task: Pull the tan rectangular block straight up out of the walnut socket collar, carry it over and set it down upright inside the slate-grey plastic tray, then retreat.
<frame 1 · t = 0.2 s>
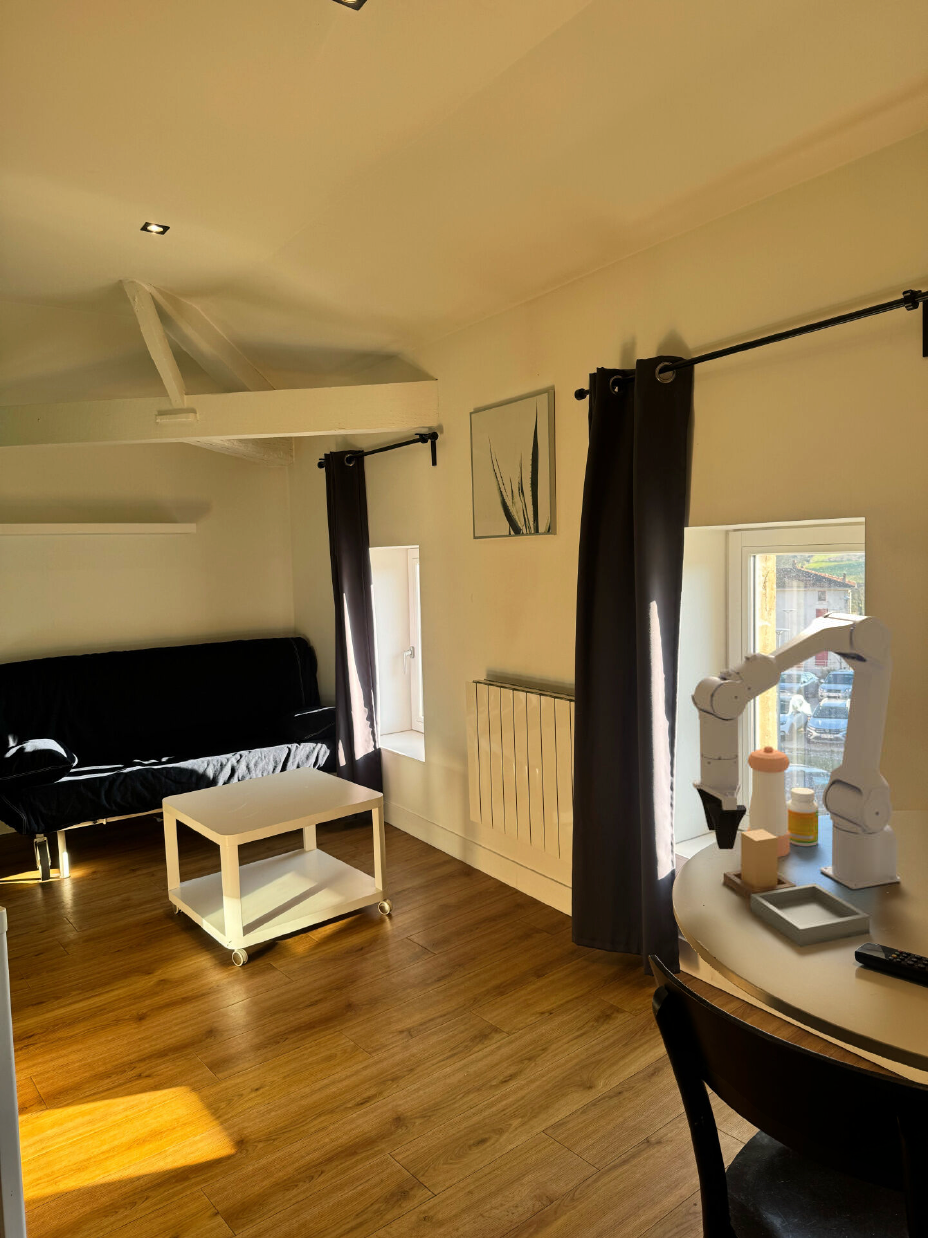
hand: (720, 838, 129), 10 cm above the table, tool pointing down, fingers open, 7 cm apart
salt shaker: (768, 850, 149), on the table
tan rectangular block: (759, 888, 134), resting in socket collar
supplement bottle: (802, 842, 152), on the table
socket collar: (759, 887, 134), on the table
tray: (808, 921, 122), on the table
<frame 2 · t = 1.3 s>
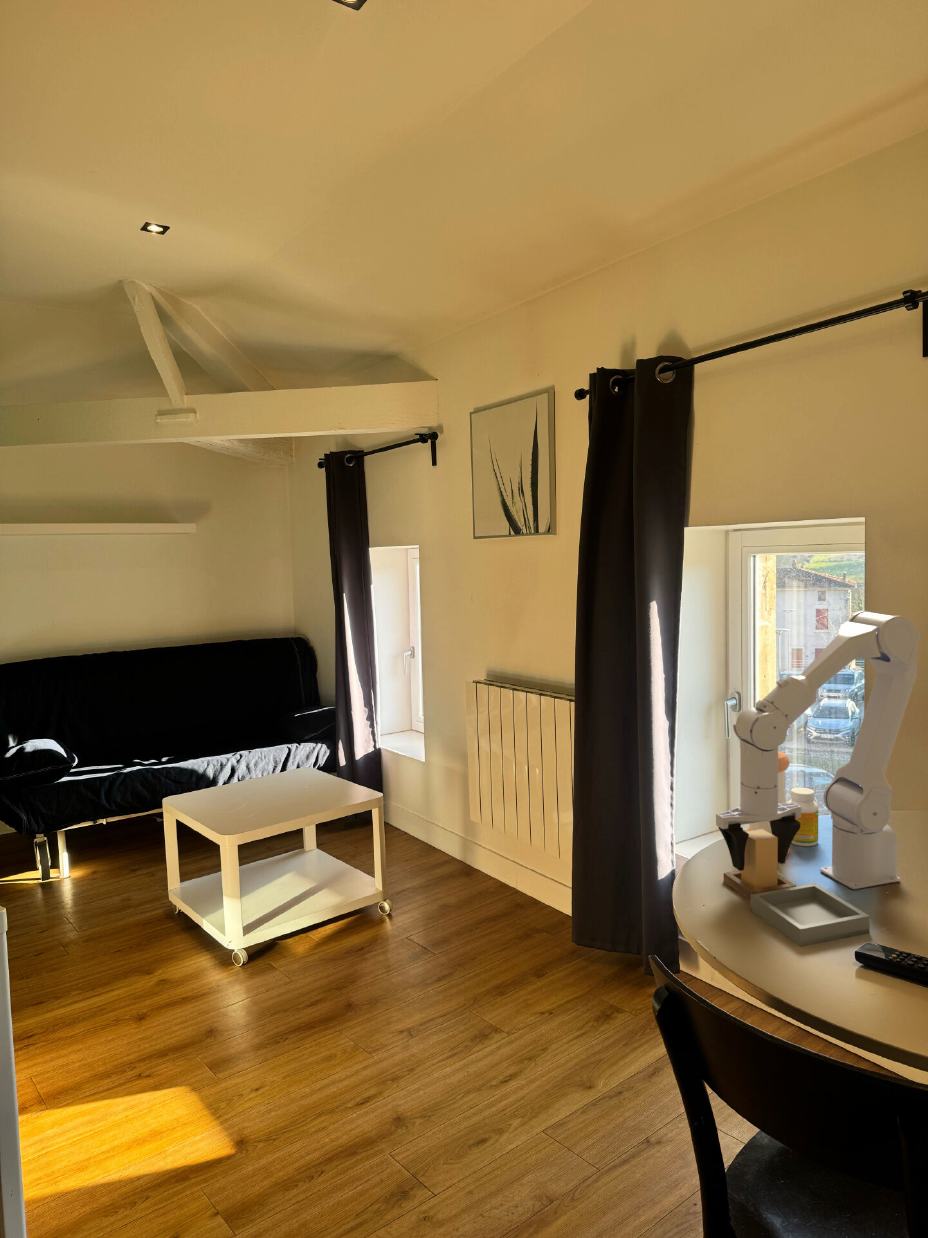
hand: (758, 864, 133), 4 cm above the table, tool pointing down, fingers open, 7 cm apart
nothing on the table moved.
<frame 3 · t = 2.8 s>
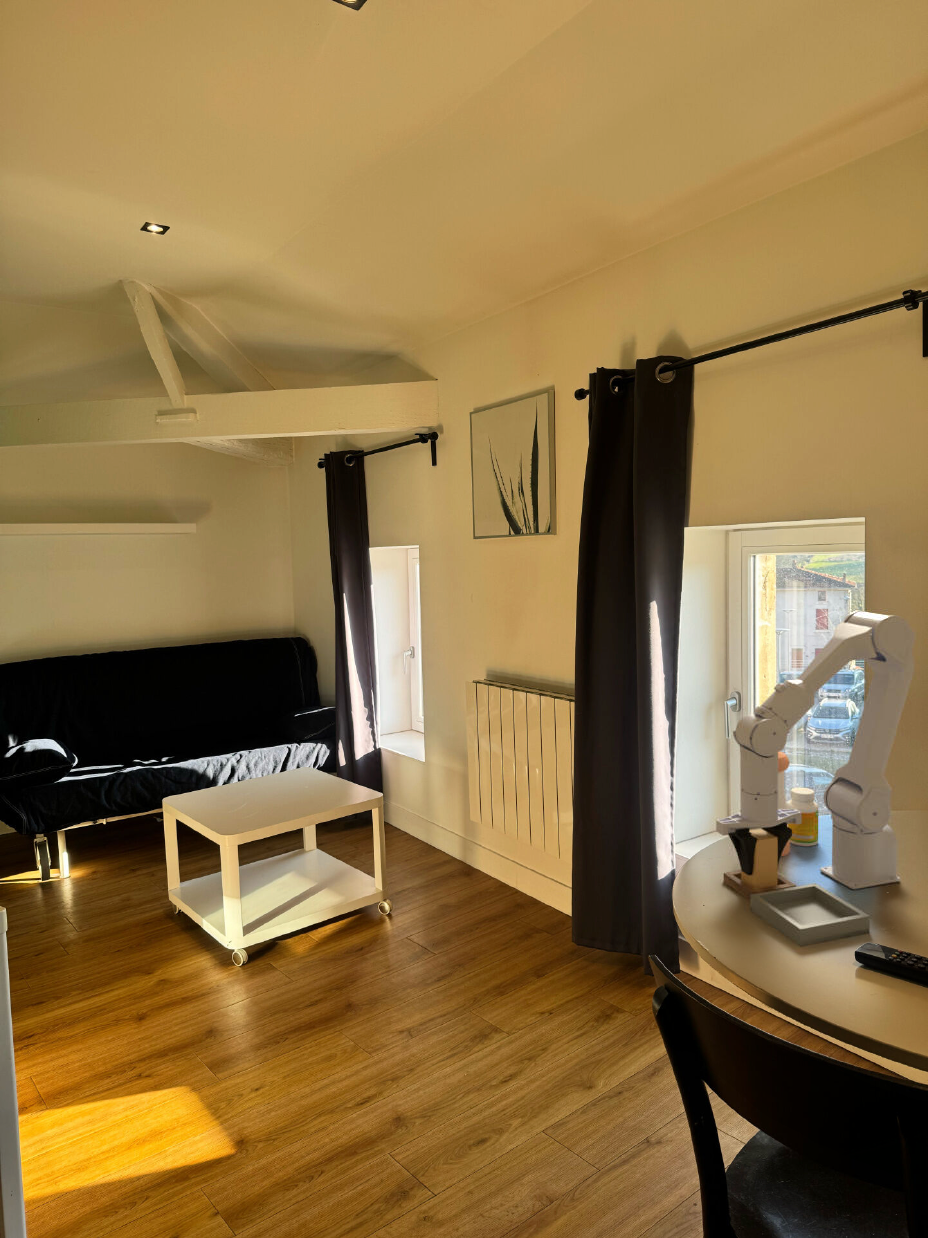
hand: (759, 870, 133), 3 cm above the table, tool pointing down, fingers closed on tan rectangular block, 4 cm apart
tan rectangular block: (759, 888, 134), resting in socket collar, touching gripper
everything else where it was.
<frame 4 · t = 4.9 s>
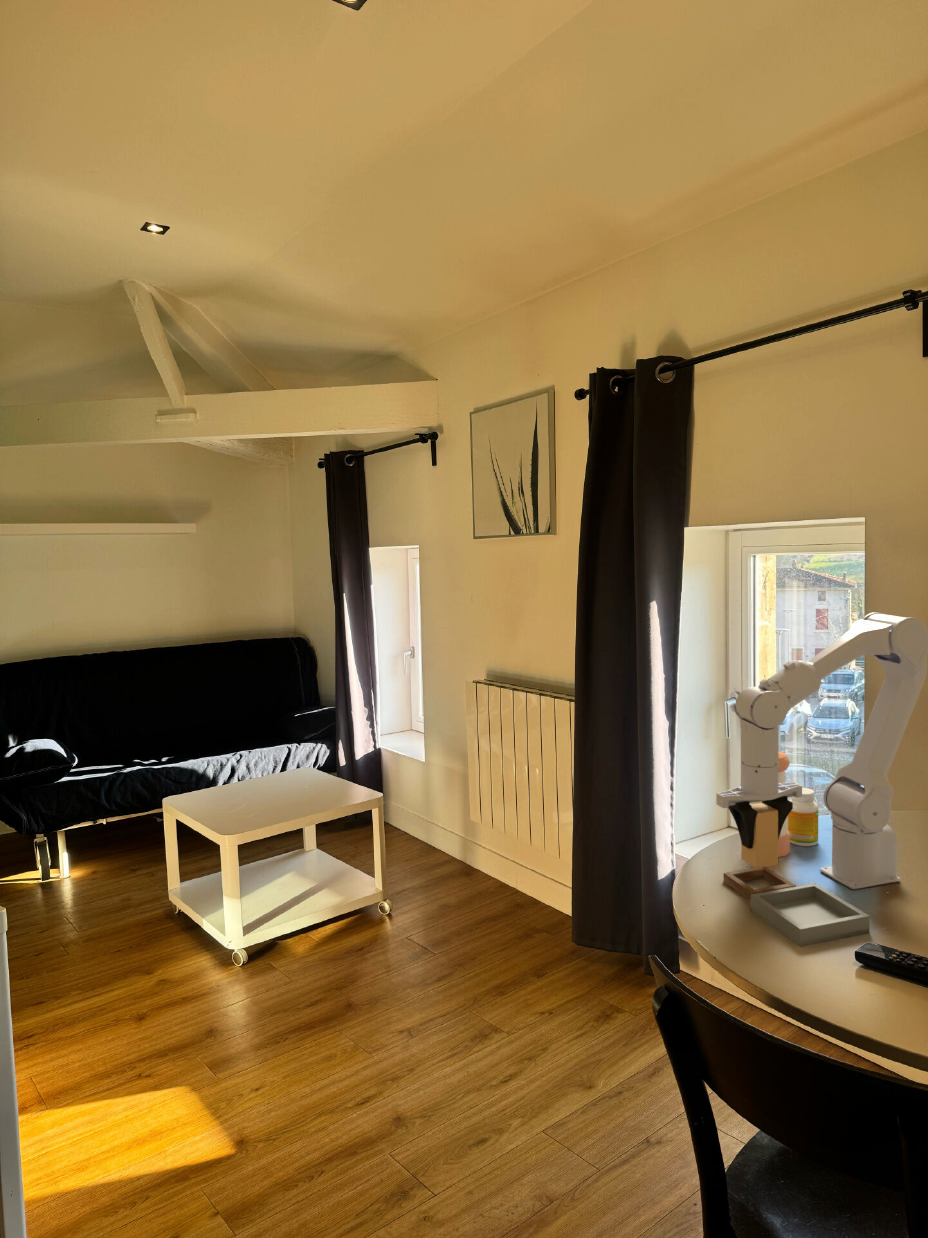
hand: (759, 844, 133), 7 cm above the table, tool pointing down, fingers closed on tan rectangular block, 4 cm apart
tan rectangular block: (759, 861, 133), point 4 cm above the table, touching gripper
everything else where it was.
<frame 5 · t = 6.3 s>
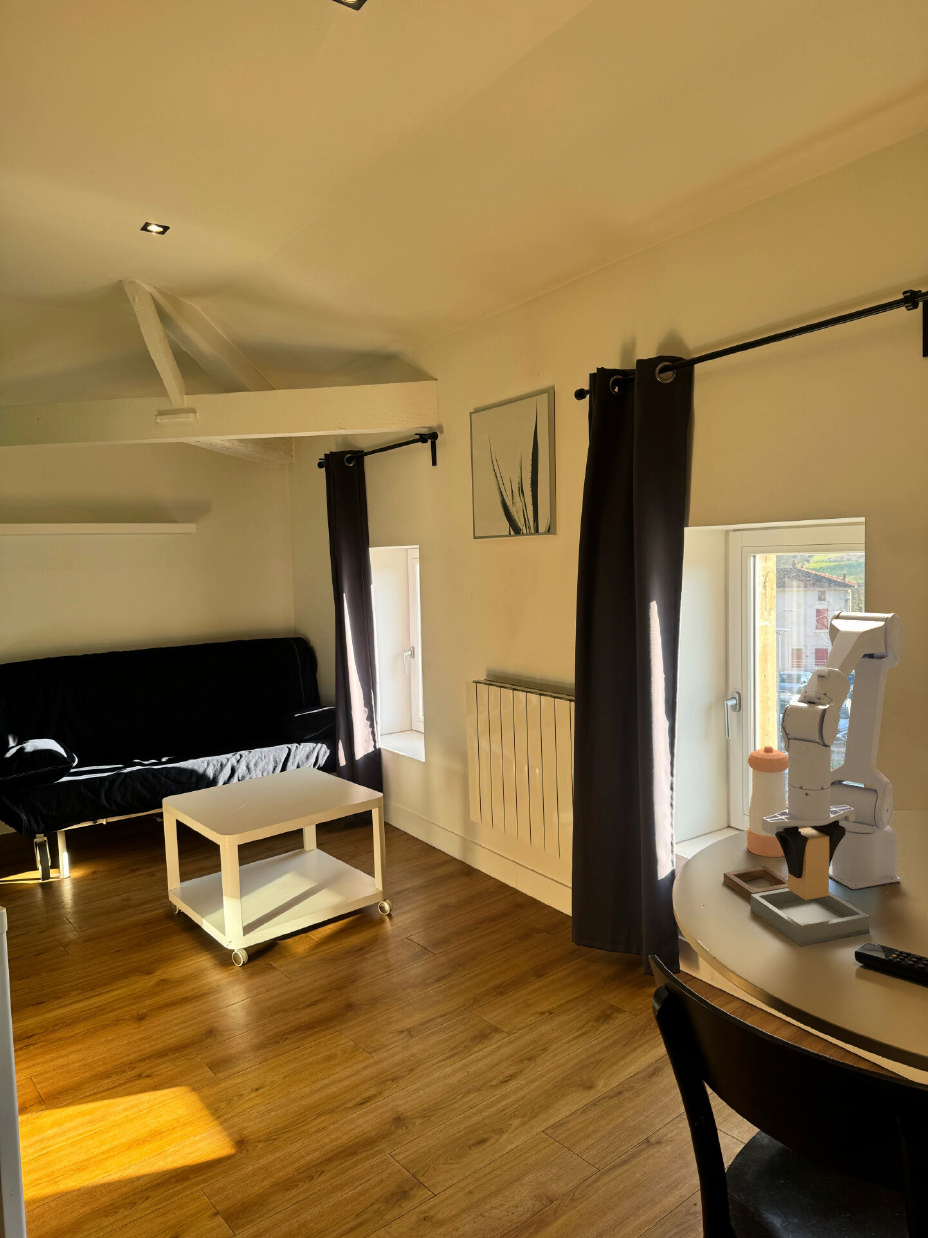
hand: (808, 873, 121), 7 cm above the table, tool pointing down, fingers closed on tan rectangular block, 4 cm apart
tan rectangular block: (808, 892, 122), point 4 cm above the table, touching gripper
everything else where it was.
when the fingers open (5 cm above the table, at t = 7.4 s): tan rectangular block drops 1 cm, resting on tray.
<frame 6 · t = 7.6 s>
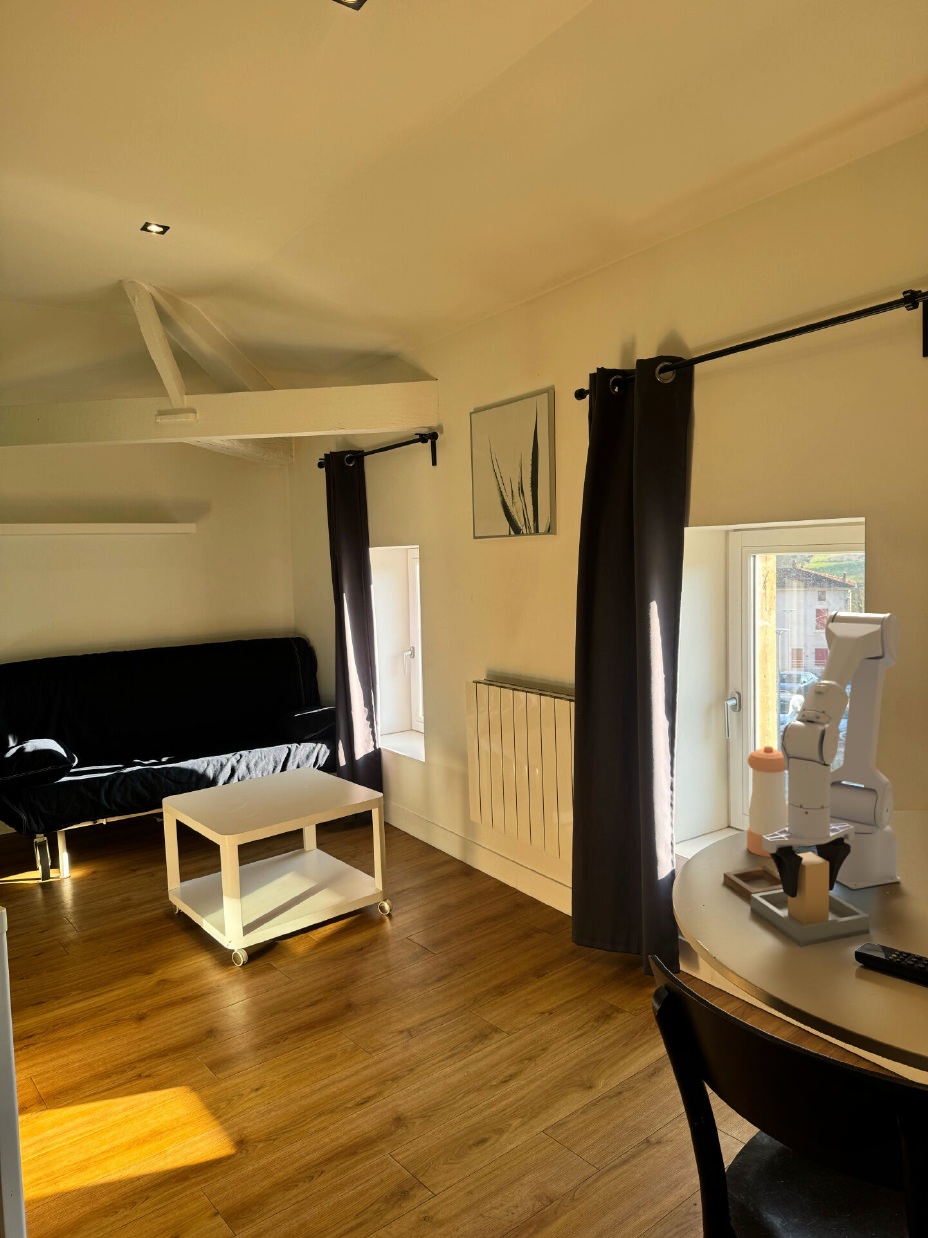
hand: (808, 891, 122), 5 cm above the table, tool pointing down, fingers open, 6 cm apart
tan rectangular block: (807, 917, 122), point 1 cm above the table, touching tray
everything else where it was.
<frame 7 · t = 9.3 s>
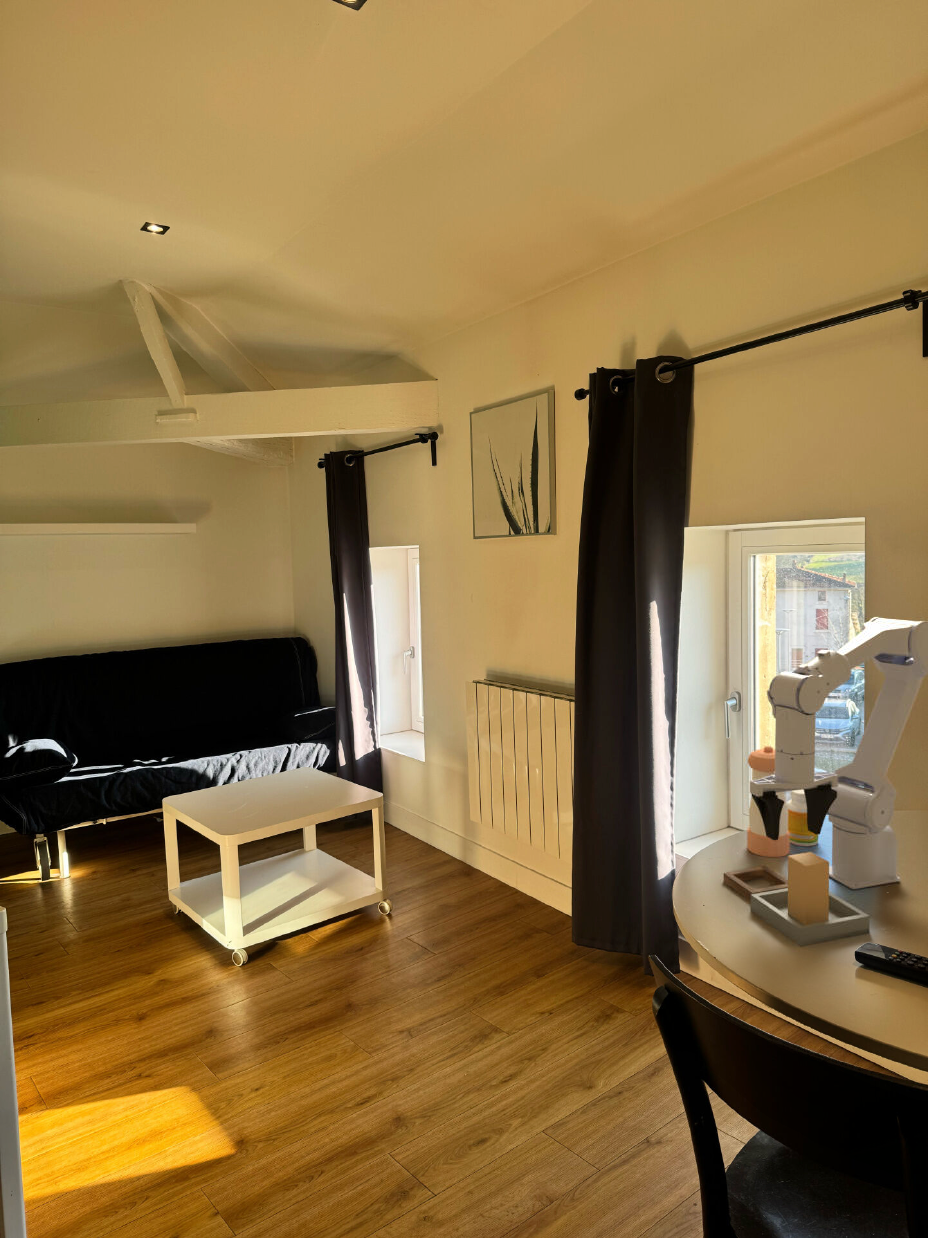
hand: (793, 835, 128), 10 cm above the table, tool pointing down, fingers open, 7 cm apart
nothing on the table moved.
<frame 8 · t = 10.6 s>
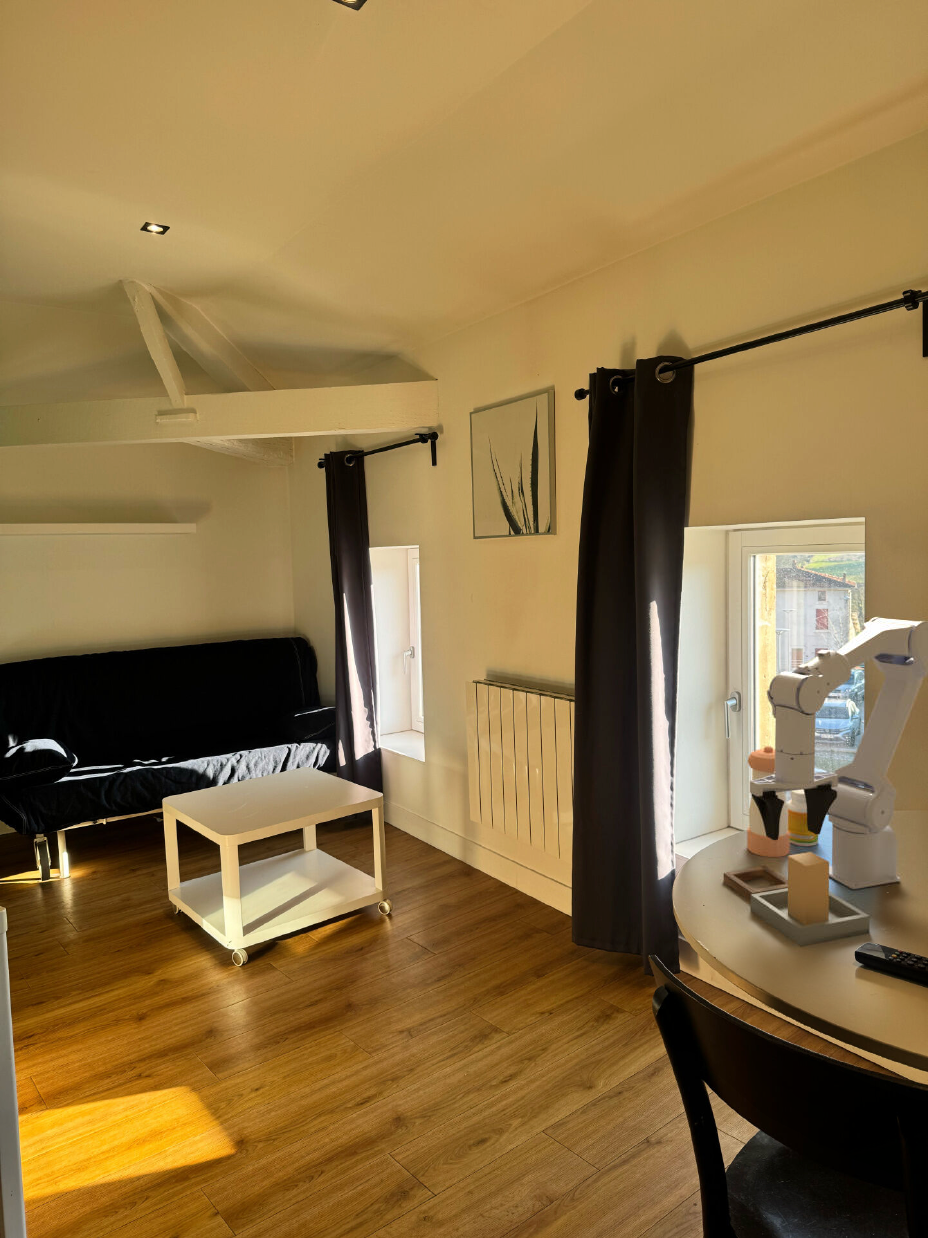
hand: (793, 835, 128), 10 cm above the table, tool pointing down, fingers open, 7 cm apart
nothing on the table moved.
at the end: tan rectangular block inside the target area on the tray (0.1 cm from its centre), point 0.6 cm above the tray's base; tan rectangular block tilted 0°; the gripper is holding nothing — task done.
